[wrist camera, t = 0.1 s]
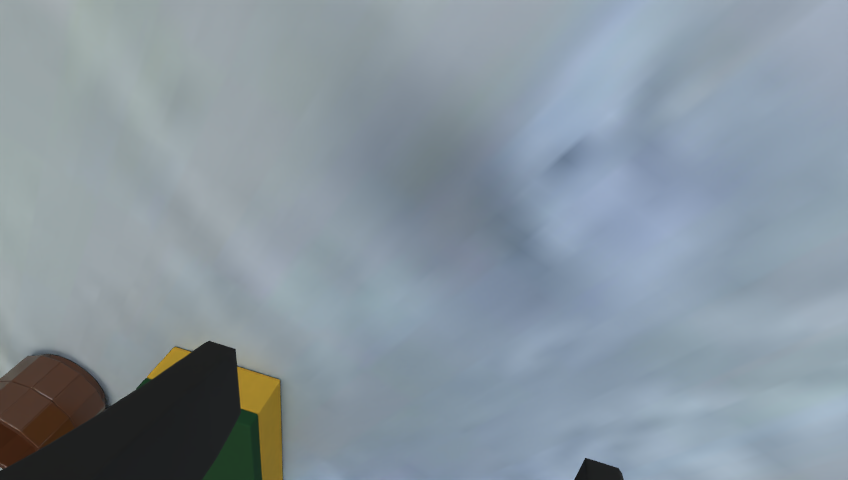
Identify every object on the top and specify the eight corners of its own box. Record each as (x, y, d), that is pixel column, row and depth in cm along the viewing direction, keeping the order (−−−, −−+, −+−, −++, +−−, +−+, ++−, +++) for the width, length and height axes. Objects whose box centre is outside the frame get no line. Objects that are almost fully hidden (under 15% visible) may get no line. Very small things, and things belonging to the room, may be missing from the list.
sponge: (283, 479, 33) (258, 527, 30) (192, 448, 34) (161, 493, 31) (280, 379, 28) (250, 427, 25) (174, 345, 29) (134, 389, 26)
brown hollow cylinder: (120, 426, 35) (61, 492, 31) (41, 399, 35) (-24, 460, 32) (102, 366, 31) (35, 431, 28) (16, 338, 32) (-60, 397, 29)
